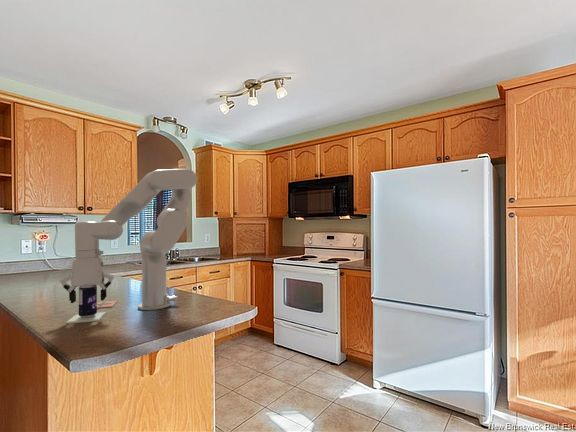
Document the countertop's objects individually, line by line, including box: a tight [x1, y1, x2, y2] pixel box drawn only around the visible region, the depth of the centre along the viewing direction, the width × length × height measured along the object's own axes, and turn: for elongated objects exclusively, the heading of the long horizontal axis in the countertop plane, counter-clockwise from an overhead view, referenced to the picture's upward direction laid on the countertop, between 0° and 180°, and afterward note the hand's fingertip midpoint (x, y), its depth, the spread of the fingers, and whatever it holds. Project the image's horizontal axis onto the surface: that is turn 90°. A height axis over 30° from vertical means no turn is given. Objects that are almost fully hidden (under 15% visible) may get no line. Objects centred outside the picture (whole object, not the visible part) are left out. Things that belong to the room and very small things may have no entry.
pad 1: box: [65, 311, 107, 324], centre depth 119 cm, size 10×10×1 cm
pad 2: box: [97, 300, 119, 310], centre depth 138 cm, size 10×10×1 cm
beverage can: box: [78, 284, 98, 318], centre depth 119 cm, size 6×6×12 cm
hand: (88, 301), depth 119 cm, fingers open, 9 cm apart
